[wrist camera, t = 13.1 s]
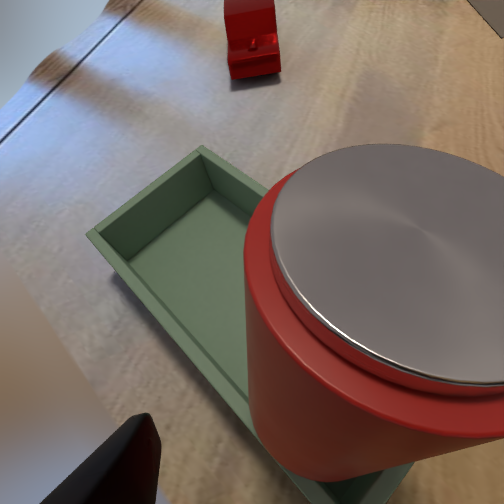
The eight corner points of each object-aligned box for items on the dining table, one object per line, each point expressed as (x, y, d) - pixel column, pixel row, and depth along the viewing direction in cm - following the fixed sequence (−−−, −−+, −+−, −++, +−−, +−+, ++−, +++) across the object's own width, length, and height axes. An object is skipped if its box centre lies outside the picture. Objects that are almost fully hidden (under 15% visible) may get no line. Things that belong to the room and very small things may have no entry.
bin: (340, 523, 16) (352, 552, 12) (119, 265, 25) (84, 233, 21) (457, 364, 18) (497, 344, 14) (216, 185, 28) (201, 144, 24)
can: (407, 482, 13) (779, 431, 4) (247, 482, 13) (235, 429, 4) (371, 332, 17) (511, 130, 8) (249, 332, 17) (245, 130, 8)
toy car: (231, 22, 42) (223, -25, 37) (274, 14, 41) (270, -35, 37) (231, 88, 35) (220, 39, 30) (283, 80, 34) (280, 29, 30)
